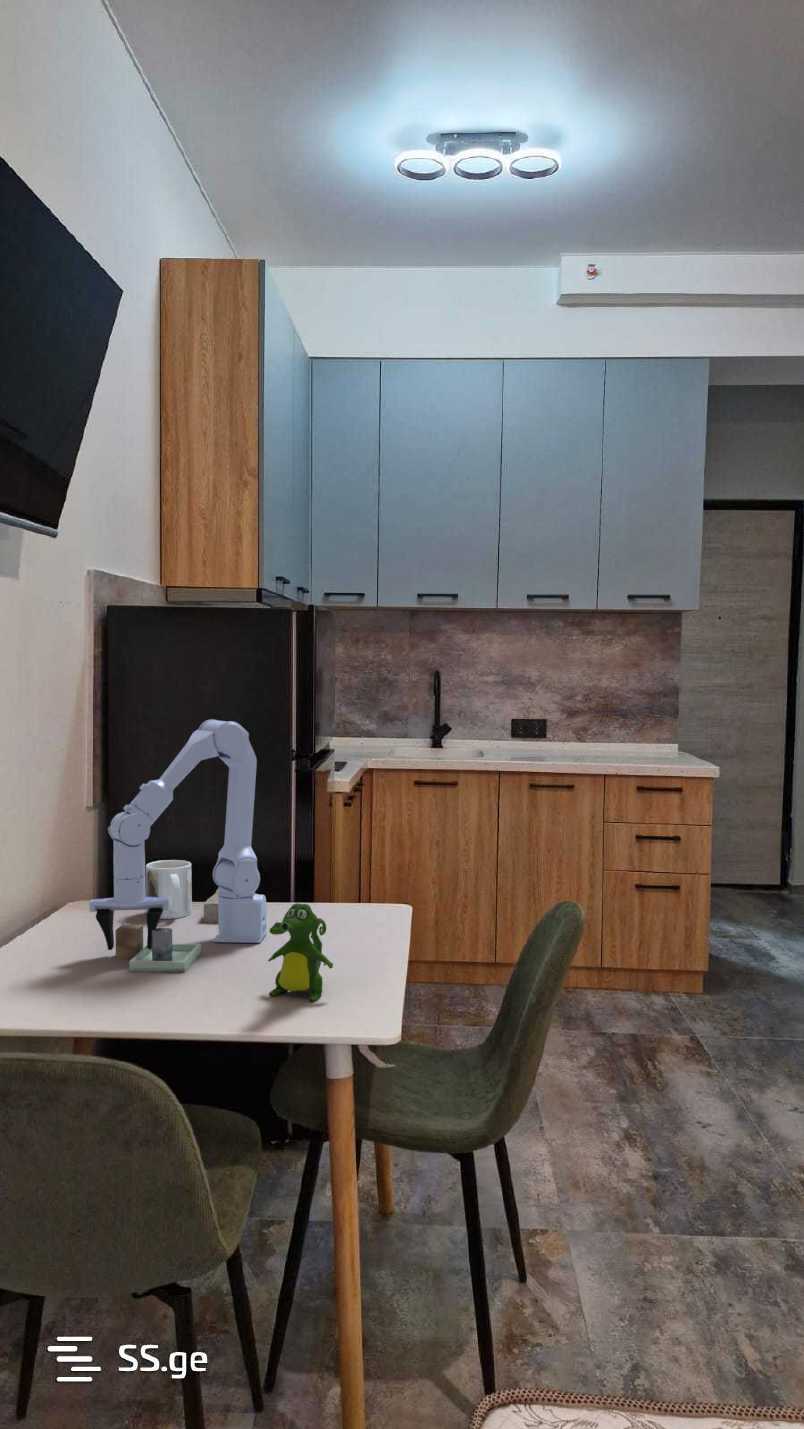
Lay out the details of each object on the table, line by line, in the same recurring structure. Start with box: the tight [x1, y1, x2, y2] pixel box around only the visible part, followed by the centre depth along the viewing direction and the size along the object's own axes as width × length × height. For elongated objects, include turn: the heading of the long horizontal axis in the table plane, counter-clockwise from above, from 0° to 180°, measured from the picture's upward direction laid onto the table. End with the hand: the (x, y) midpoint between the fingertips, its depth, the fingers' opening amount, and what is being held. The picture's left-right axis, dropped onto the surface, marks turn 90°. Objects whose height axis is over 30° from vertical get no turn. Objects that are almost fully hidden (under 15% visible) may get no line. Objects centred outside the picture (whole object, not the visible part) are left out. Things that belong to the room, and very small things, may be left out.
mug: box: [145, 859, 193, 920], centre depth 221 cm, size 10×12×11 cm
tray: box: [128, 942, 202, 973], centre depth 186 cm, size 10×12×2 cm
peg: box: [152, 927, 173, 961], centre depth 183 cm, size 4×4×6 cm
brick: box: [202, 887, 219, 923], centre depth 223 cm, size 17×8×5 cm, turn 177°
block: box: [115, 924, 144, 960], centre depth 190 cm, size 4×4×6 cm
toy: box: [267, 903, 334, 1002], centre depth 168 cm, size 12×19×15 cm, turn 160°
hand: (130, 947), depth 190 cm, fingers open, 7 cm apart
